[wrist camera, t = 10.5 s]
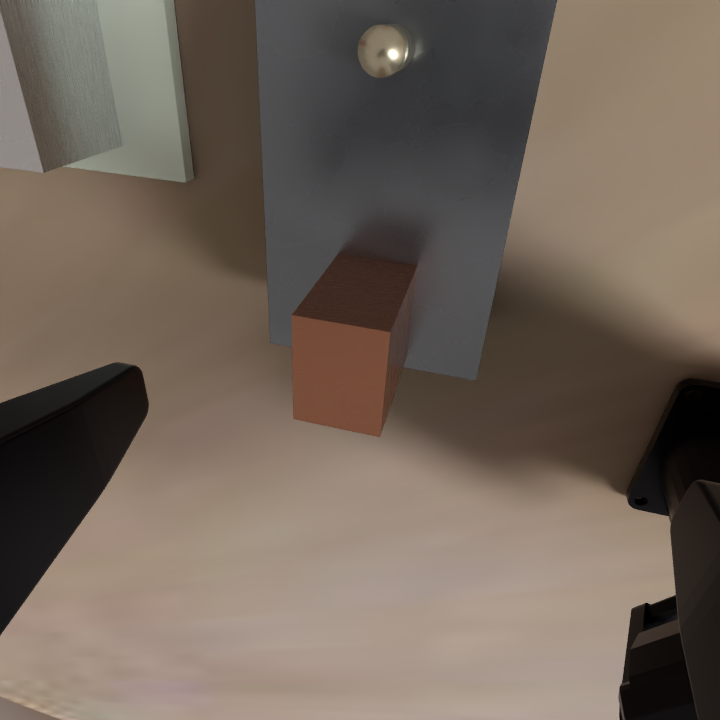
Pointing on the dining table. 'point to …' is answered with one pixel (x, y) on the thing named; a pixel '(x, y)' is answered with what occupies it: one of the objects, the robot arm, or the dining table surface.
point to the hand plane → (389, 186)
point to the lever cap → (54, 85)
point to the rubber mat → (145, 92)
